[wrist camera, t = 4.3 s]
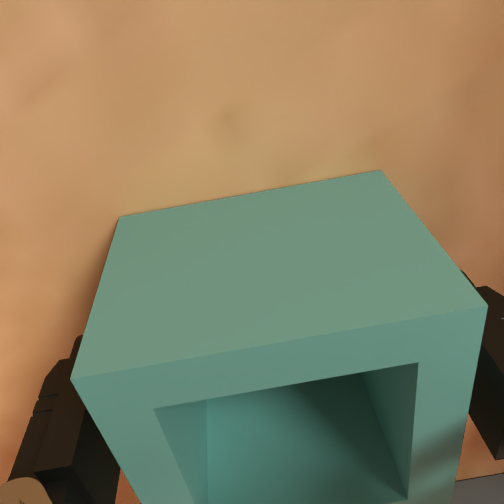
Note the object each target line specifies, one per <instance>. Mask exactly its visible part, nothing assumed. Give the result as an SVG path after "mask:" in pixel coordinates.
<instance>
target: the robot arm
mask: <svg viewBox="0 0 504 504" xmlns="http://www.w3.org/2000/svg"><path fill="white" fill-rule="evenodd" d="M460 271H461V272H462V273H463V274H464V276H465V277H466V278H467V279H468V281H469V282H470V283H471V284H472V286H473V287H474V288H475V290H476V291H477V292H478V293H479V295H480V296H481V297H482V298H483V300H484V301H485V302H486V303H487V305H488V309H487V314H486V320H485V325H484V330H483V336H482V341H481V347H480V352H479V357H478V363H477V368H476V373H475V379H474V384H473V389H472V395H471V400H470V405H469V411H468V413H469V415H470V417H471V419H472V420H473V422H474V424H475V426H476V427H477V429H478V431H479V433H480V434H481V436H482V438H483V440H484V441H485V443H486V445H487V447H488V448H489V450H490V452H491V454H492V455H493V457H494V459H495V460H501V459H504V296H502V295H501V294H499V293H497V292H496V291H494V290H492V289H491V288H489V287H487V286H482V287H477V288H476V287H475V285H474V284H473V283H472V282H471V280H470V279H469V278H468V277H467V275H466V274H465V273H464V272H463V271H462V270H460ZM82 338H83V335H79V336H78V337H77V338H76V340H75V343H74V346H73V349H72V352H71V355H70V358H68V359H63V360H59V361H58V362H57V364H56V365H55V366H54V367H53V369H52V370H51V371H50V373H49V374H48V375H47V376H46V378H45V380H44V383H43V385H42V388H41V391H40V394H39V396H38V398H39V400H38V401H37V402H36V405H35V407H34V410H33V417H31V419H30V421H29V424H28V427H27V430H26V432H25V435H24V438H23V441H22V443H21V446H20V449H19V452H18V454H17V457H16V460H15V463H14V466H13V468H12V471H11V474H10V476H9V479H8V481H7V482H6V483H4V484H3V485H1V486H0V504H115V499H116V493H117V486H118V480H119V473H120V466H119V464H118V462H117V461H116V459H115V457H114V455H113V454H112V452H111V450H110V448H109V447H108V445H107V443H106V441H105V440H104V438H103V436H102V434H101V433H100V431H99V429H98V427H97V426H96V424H95V422H94V420H93V419H92V417H91V415H90V413H89V412H88V410H87V408H86V406H85V405H84V403H83V401H82V399H81V398H80V396H79V394H78V392H77V390H76V389H75V387H74V385H73V383H72V382H71V380H70V378H71V374H72V371H73V368H74V365H75V361H76V358H77V355H78V351H79V348H80V345H81V342H82Z"/></svg>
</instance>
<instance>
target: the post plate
mask: <svg viewBox="0 0 504 504" xmlns="http://www.w3.org/2000/svg"><path fill="white" fill-rule="evenodd" d="M451 504H504V474H498V475H492V476H486V477H480V478H475V479H469V480H463V481H457V482H455V486H454V491H453V496H452V502H451Z"/></svg>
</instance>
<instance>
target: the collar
mask: <svg viewBox="0 0 504 504" xmlns="http://www.w3.org/2000/svg"><path fill="white" fill-rule="evenodd" d="M487 309H488V305H487V303H486V302H485V301H484V300H483V298H482V297H481V296H480V295H479V293H478V292H477V291H476V290H475V288H474V287H473V286H472V284H471V283H470V282H469V281H468V279H467V278H466V277H465V276H464V274H463V273H462V272H461V271H460V269H459V268H458V267H457V266H456V264H455V263H454V262H453V261H452V259H451V258H450V257H449V256H448V254H447V253H446V252H445V251H444V249H443V248H442V247H441V246H440V244H439V243H438V242H437V240H436V239H435V238H434V237H433V235H432V234H431V233H430V232H429V230H428V229H427V228H426V227H425V225H424V224H423V223H422V222H421V220H420V219H419V218H418V217H417V215H416V214H415V213H414V212H413V210H412V209H411V208H410V207H409V205H408V204H407V203H406V202H405V200H404V199H403V198H402V196H401V195H400V194H399V193H398V191H397V190H396V189H395V188H394V186H393V185H392V184H391V183H390V181H389V180H388V179H387V178H386V176H385V175H384V174H383V173H382V171H381V170H378V171H373V172H367V173H361V174H356V175H350V176H345V177H339V178H334V179H328V180H323V181H317V182H311V183H306V184H300V185H295V186H289V187H284V188H278V189H273V190H267V191H261V192H256V193H250V194H245V195H239V196H234V197H228V198H222V199H217V200H211V201H206V202H200V203H195V204H189V205H184V206H178V207H172V208H167V209H161V210H156V211H150V212H145V213H139V214H133V215H128V216H122V217H119V220H118V223H117V227H116V230H115V233H114V237H113V240H112V243H111V246H110V250H109V253H108V256H107V260H106V263H105V266H104V269H103V273H102V276H101V279H100V283H99V286H98V289H97V292H96V296H95V299H94V302H93V305H92V309H91V312H90V315H89V319H88V322H87V325H86V328H85V332H84V335H83V338H82V342H81V345H80V348H79V351H78V355H77V358H76V361H75V365H74V368H73V371H72V374H71V378H70V380H71V382H72V383H73V385H74V387H75V389H76V390H77V392H78V394H79V396H80V398H81V399H82V401H83V403H84V405H85V406H86V408H87V410H88V412H89V413H90V415H91V417H92V419H93V420H94V422H95V424H96V426H97V427H98V429H99V431H100V433H101V434H102V436H103V438H104V440H105V441H106V443H107V445H108V447H109V448H110V450H111V452H112V454H113V455H114V457H115V459H116V461H117V462H118V464H119V466H120V468H121V469H122V471H123V473H124V475H125V476H126V478H127V480H128V482H129V483H130V485H131V487H132V489H133V490H134V492H135V494H136V496H137V497H138V499H139V501H140V503H141V504H451V502H452V496H453V491H454V486H455V480H456V475H457V470H458V464H459V459H460V454H461V448H462V443H463V438H464V432H465V427H466V422H467V416H468V411H469V405H470V400H471V395H472V389H473V384H474V379H475V373H476V368H477V363H478V357H479V352H480V347H481V341H482V336H483V330H484V325H485V320H486V314H487Z"/></svg>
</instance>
